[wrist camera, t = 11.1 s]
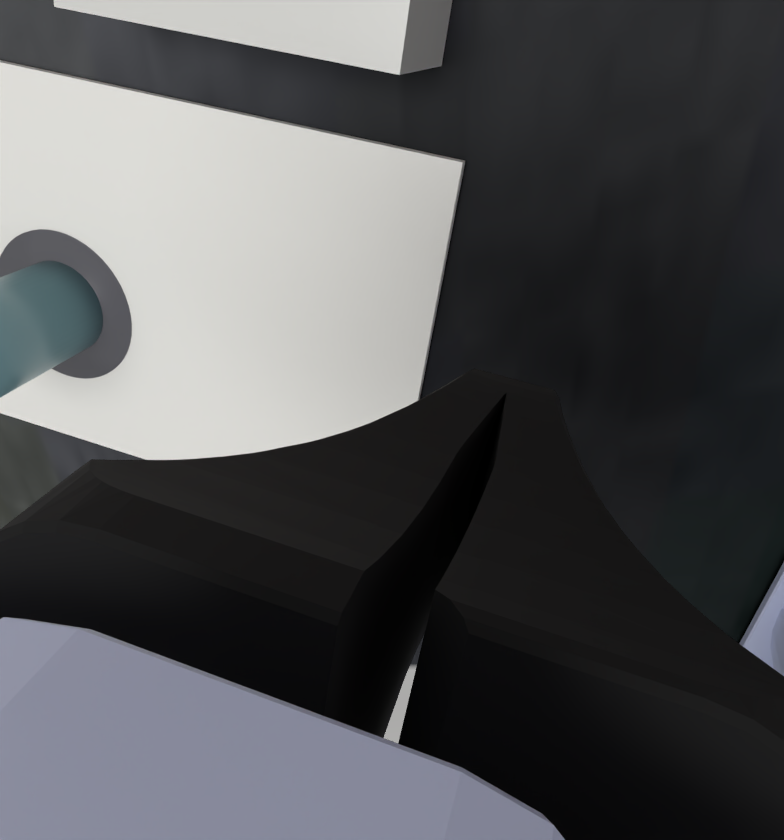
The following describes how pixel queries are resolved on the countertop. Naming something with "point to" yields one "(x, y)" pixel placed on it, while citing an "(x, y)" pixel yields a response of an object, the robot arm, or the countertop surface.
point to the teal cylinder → (44, 320)
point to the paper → (220, 266)
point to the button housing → (303, 26)
